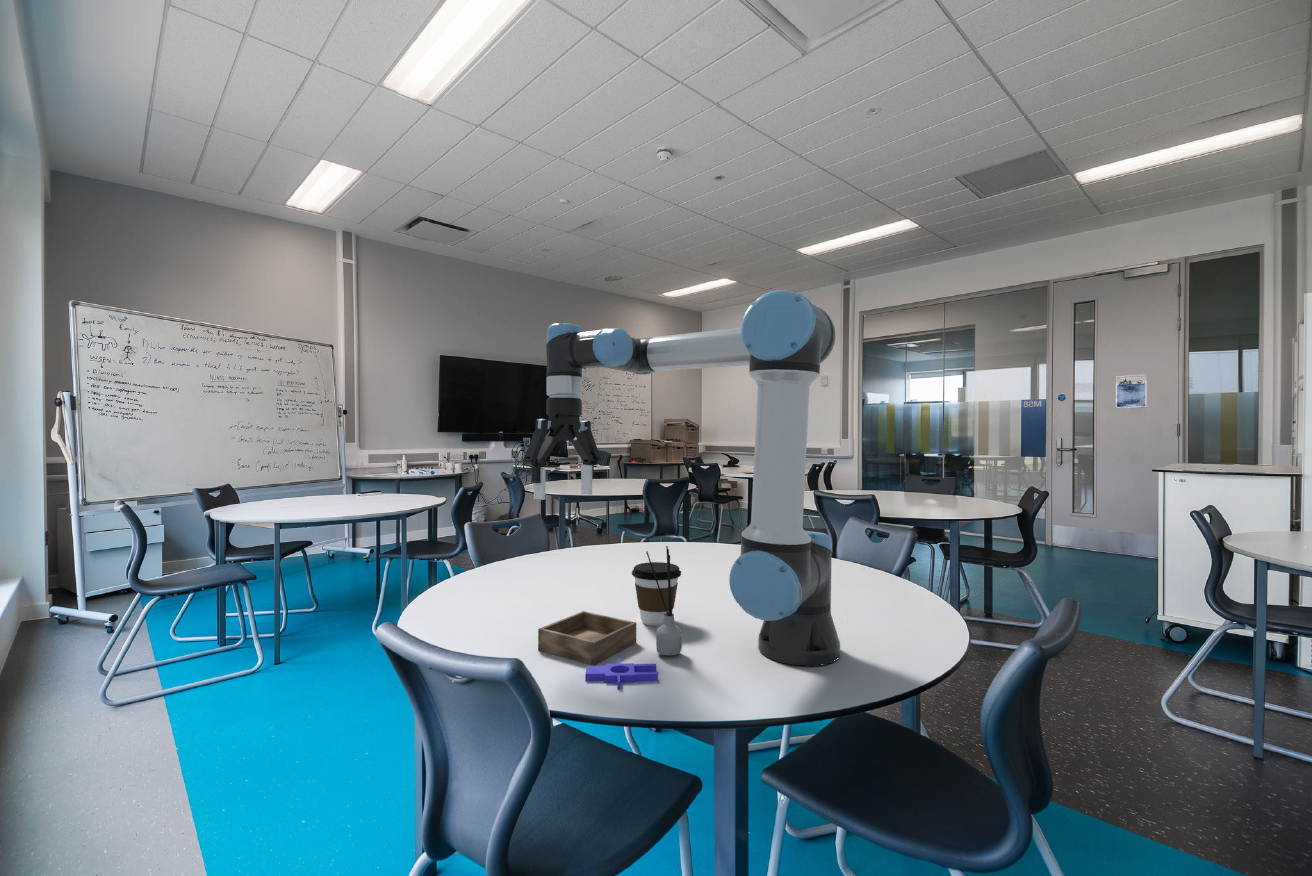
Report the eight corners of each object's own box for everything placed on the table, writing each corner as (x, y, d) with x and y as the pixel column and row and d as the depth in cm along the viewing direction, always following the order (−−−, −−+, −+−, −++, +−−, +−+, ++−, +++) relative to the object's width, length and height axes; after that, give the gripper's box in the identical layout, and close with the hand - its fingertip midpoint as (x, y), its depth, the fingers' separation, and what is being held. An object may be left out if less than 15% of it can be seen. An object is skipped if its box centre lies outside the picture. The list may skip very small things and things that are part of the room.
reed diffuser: (683, 664, 103) (684, 552, 103) (645, 664, 102) (646, 552, 102) (680, 643, 113) (681, 542, 113) (645, 643, 113) (645, 541, 113)
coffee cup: (672, 632, 119) (673, 574, 119) (623, 626, 123) (624, 570, 123) (686, 616, 130) (687, 563, 130) (641, 611, 133) (641, 560, 133)
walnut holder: (636, 642, 113) (636, 622, 113) (594, 665, 102) (594, 642, 102) (583, 630, 120) (583, 611, 120) (538, 650, 109) (538, 629, 109)
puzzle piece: (658, 691, 93) (658, 680, 93) (584, 692, 92) (584, 682, 92) (655, 666, 102) (655, 657, 102) (587, 667, 102) (587, 658, 102)
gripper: (592, 401, 135) (592, 491, 135) (505, 394, 115) (505, 500, 115) (616, 400, 130) (616, 493, 130) (529, 392, 111) (529, 502, 111)
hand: (564, 496), depth 123 cm, fingers open, 13 cm apart
